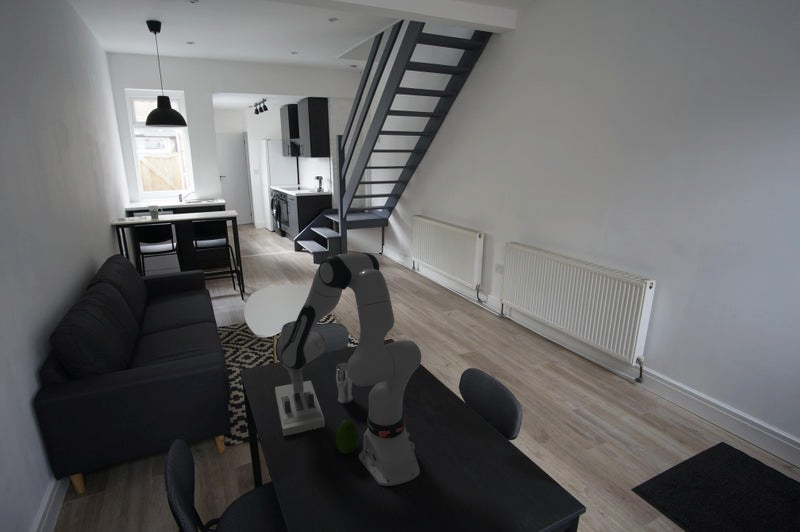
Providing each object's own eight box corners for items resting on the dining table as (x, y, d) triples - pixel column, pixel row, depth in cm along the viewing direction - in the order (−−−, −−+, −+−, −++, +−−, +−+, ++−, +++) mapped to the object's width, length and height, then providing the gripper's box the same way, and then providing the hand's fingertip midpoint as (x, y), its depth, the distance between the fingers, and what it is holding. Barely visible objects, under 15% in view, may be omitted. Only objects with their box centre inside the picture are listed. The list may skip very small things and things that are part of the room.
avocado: (337, 461, 139) (336, 429, 136) (334, 445, 146) (333, 415, 143) (361, 456, 141) (360, 425, 138) (357, 441, 148) (356, 412, 145)
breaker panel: (324, 426, 156) (324, 409, 154) (283, 436, 151) (282, 417, 149) (310, 386, 183) (310, 371, 181) (275, 393, 178) (274, 377, 176)
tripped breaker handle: (300, 399, 168) (299, 390, 167) (295, 400, 167) (294, 391, 166) (299, 396, 169) (298, 387, 168) (294, 397, 169) (293, 388, 168)
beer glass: (355, 395, 177) (354, 362, 173) (351, 404, 170) (350, 371, 166) (339, 394, 177) (337, 362, 174) (334, 403, 171) (333, 370, 167)
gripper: (306, 370, 159) (308, 403, 162) (298, 348, 177) (300, 378, 181) (289, 373, 157) (291, 406, 160) (283, 351, 175) (285, 380, 178)
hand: (296, 391), depth 170 cm, fingers closed
